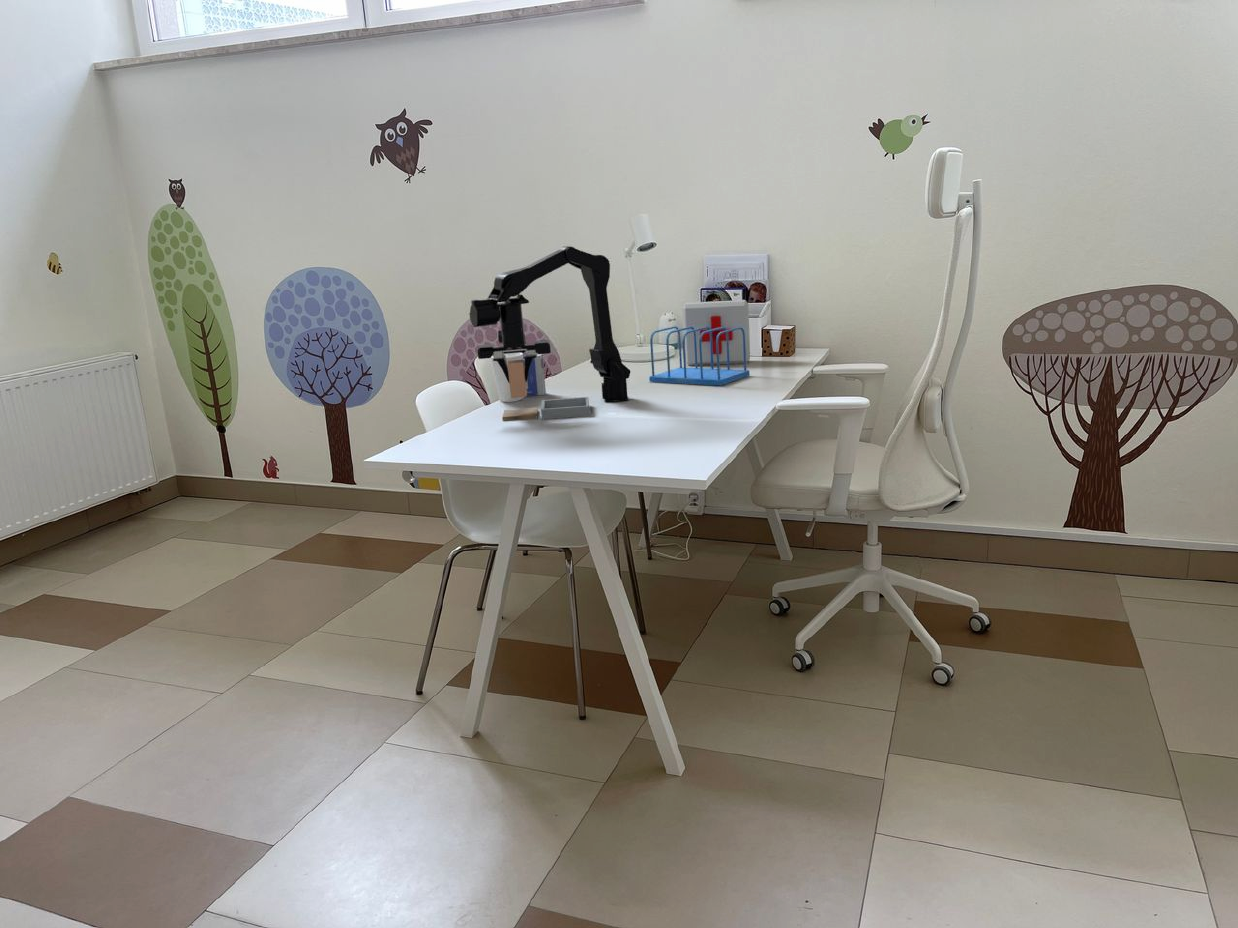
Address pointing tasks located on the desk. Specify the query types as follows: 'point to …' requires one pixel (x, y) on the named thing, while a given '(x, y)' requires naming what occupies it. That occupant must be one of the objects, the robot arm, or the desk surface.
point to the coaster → (520, 414)
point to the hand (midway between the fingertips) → (517, 382)
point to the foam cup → (504, 377)
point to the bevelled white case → (717, 331)
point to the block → (517, 378)
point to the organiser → (565, 408)
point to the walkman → (536, 377)
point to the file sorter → (700, 374)
